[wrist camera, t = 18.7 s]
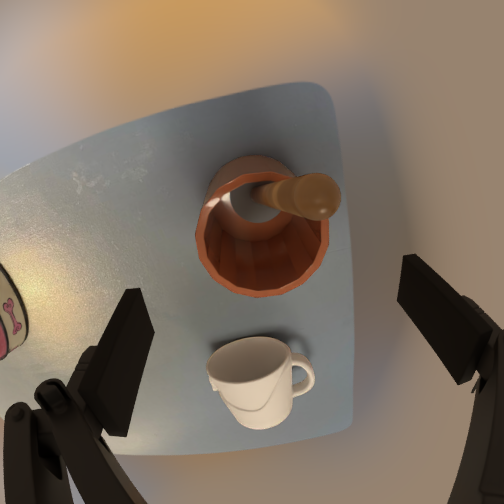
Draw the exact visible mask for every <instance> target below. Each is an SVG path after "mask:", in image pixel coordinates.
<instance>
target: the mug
mask: <svg viewBox="0 0 504 504" xmlns="http://www.w3.org/2000/svg"><path fill="white" fill-rule="evenodd" d="M293 365H297V366H301V367H303V368H304V369H305V370H306V371H307V377H306V378H305V379H304V380H303V381H302V382H299V383H297V384H294V385H292V366H293ZM206 370H207V374H208V375H209V382H210V383H211V384H212V387H213V390H214V391H219V395H220V397H221V398H222V400H223V401H224V403H225V404H226V405H227V407H228V408H229V410H230V411H231V412H232V414H233V415H234V417H235V418H236V419H237V421H238V422H239V423H240V424H242V425H243V426H245V427H248V428H251V429H267V428H271V427H273V426H276V425H278V424H279V423H281V422H282V421H283V420H284V419H285V418H286V417H287V416H288V415H289V413H290V411H291V409H292V404H293V401H292V398H293V397H295V396H298V395H301V394H304V393H306V392H308V391H309V390H310V389H311V388H312V387H313V385H314V382H315V375H314V371H313V368H312V365H311V363H310V361H309V360H308V359H307V358H306V357H305V356H303V355H301V354H299V353H291V350H290V348H289V347H288V346H287V345H286V344H285V343H283V342H281V341H280V340H277V339H275V338H271V337H249V338H243V339H239V340H236V341H233V342H231V343H228V344H226V345H224V346H222V347H221V348H219V349H218V350H216V351H215V352H214V353H213V354H212V355H211V356H210V358H209V359H208V361H207V364H206Z"/></svg>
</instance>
